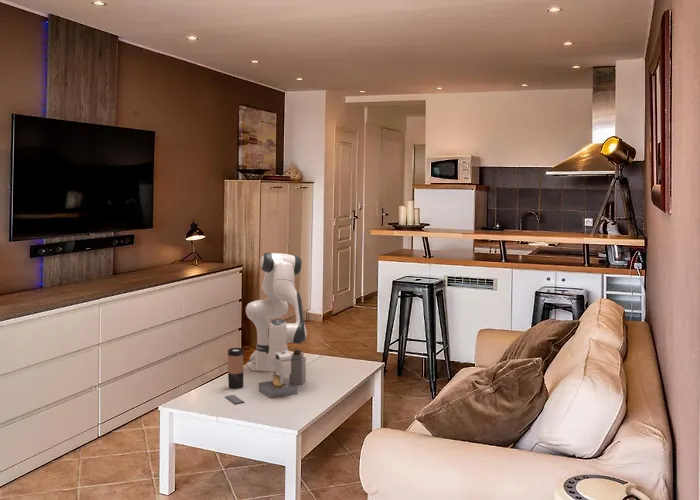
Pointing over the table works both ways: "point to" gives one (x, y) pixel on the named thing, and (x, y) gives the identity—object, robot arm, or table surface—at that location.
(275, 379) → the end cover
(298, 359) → the grey square bottle
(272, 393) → the housing
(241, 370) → the travel mug
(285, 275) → the robot arm
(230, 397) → the mat
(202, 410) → the table surface
